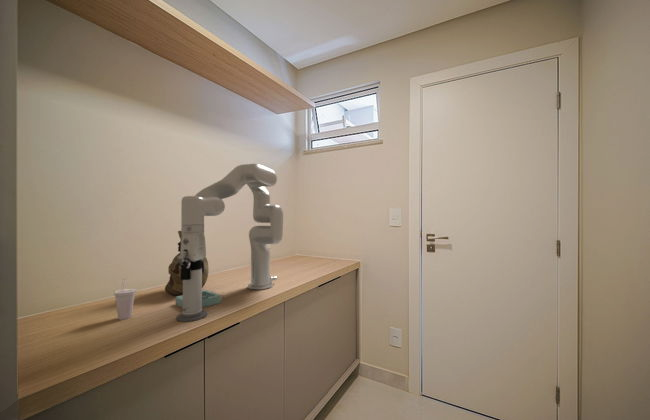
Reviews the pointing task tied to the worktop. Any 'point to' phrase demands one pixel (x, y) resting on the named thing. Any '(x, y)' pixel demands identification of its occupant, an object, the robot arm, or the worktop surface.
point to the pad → (183, 319)
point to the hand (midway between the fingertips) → (192, 276)
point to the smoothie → (124, 302)
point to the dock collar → (203, 299)
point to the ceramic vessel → (175, 274)
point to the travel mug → (193, 291)
